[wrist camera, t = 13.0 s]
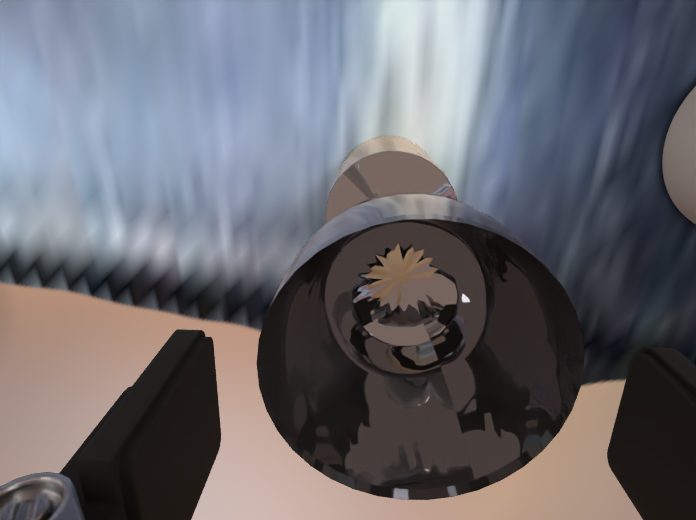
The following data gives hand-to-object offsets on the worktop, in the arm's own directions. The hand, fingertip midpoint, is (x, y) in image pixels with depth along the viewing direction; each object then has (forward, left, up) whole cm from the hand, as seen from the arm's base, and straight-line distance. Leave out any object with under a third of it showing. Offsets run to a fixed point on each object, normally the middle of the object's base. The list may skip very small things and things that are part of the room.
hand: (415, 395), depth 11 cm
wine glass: (0, 0, -16) cm, 16 cm away
